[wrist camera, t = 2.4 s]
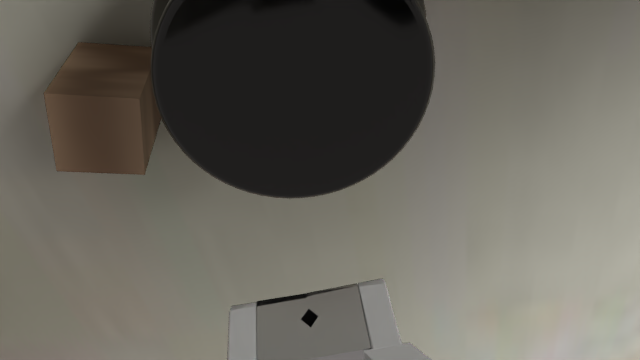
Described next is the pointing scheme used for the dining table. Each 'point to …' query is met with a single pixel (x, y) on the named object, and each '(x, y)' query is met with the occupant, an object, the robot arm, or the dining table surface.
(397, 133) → the supplement container
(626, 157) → the dining table surface
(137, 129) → the walnut block
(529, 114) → the dining table surface
